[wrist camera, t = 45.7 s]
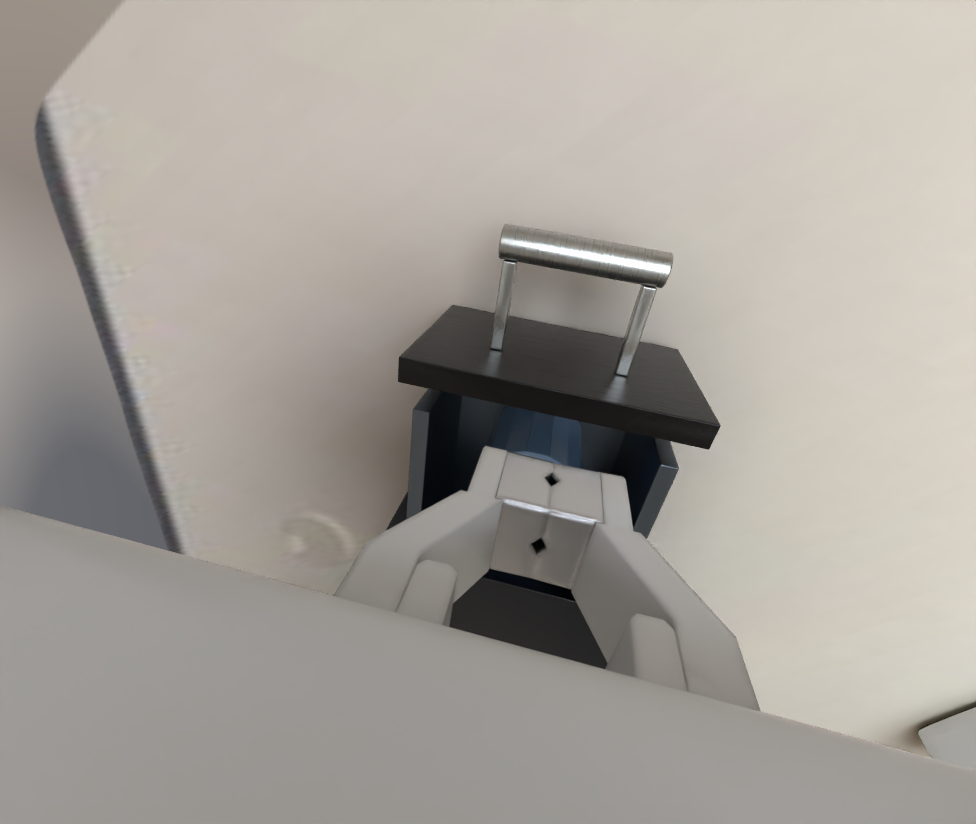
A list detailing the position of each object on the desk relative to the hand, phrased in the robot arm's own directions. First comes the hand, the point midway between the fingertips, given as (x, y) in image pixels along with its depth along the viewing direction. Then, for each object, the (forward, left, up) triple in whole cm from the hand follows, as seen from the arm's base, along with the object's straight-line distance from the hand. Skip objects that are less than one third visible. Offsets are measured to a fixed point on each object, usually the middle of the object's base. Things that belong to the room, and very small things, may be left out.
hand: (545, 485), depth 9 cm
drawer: (0, +6, -17) cm, 18 cm away
